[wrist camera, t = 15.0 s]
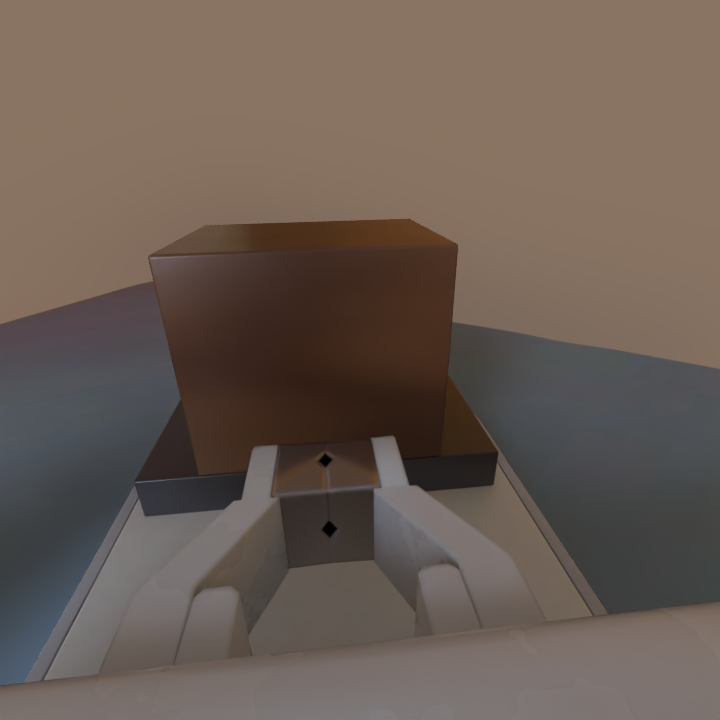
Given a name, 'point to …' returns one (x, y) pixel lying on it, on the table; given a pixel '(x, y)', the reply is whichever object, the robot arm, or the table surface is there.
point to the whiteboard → (309, 581)
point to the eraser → (308, 354)
